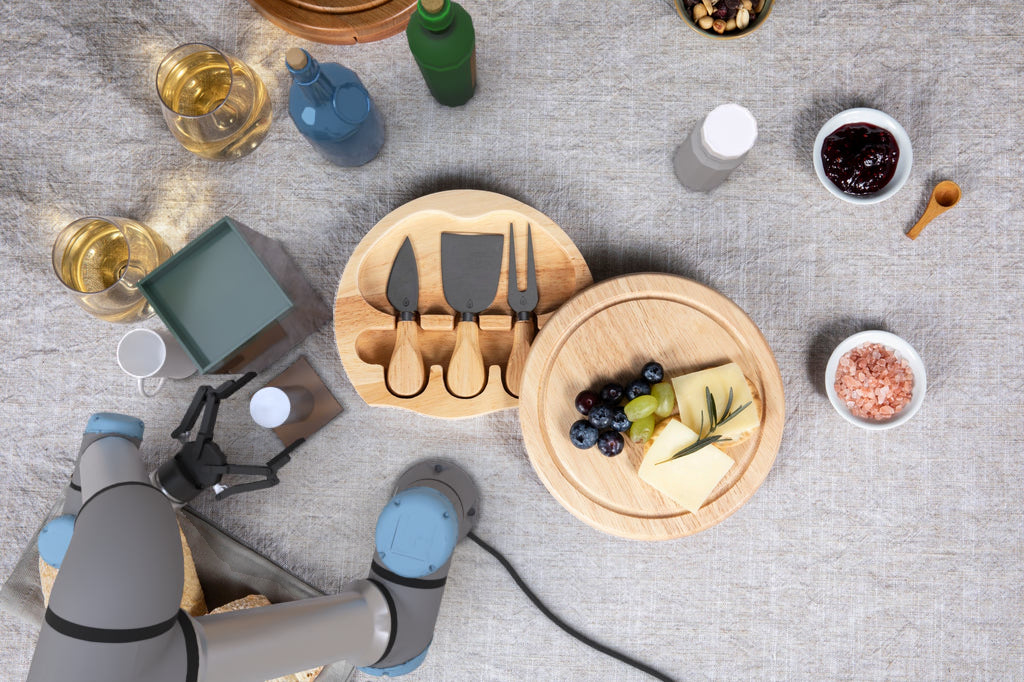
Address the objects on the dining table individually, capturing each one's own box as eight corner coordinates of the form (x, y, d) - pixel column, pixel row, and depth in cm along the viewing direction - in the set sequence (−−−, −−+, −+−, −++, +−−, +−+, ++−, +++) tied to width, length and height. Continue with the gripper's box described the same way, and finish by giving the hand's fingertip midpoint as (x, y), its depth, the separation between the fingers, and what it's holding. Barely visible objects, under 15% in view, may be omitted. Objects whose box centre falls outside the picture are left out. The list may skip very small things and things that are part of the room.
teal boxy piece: (333, 316, 119) (293, 304, 98) (257, 374, 119) (201, 374, 98) (277, 242, 120) (226, 214, 99) (202, 299, 120) (134, 284, 99)
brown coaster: (344, 410, 118) (343, 410, 118) (290, 451, 118) (289, 451, 117) (304, 356, 119) (303, 356, 118) (250, 397, 119) (249, 397, 118)
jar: (722, 196, 119) (758, 165, 101) (668, 188, 119) (694, 155, 101) (730, 143, 119) (767, 103, 101) (676, 135, 119) (703, 93, 101)
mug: (188, 402, 119) (150, 405, 107) (143, 387, 119) (101, 389, 107) (209, 339, 119) (174, 335, 107) (164, 325, 119) (124, 319, 107)
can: (321, 407, 118) (298, 411, 106) (291, 430, 118) (265, 436, 106) (299, 377, 118) (274, 378, 106) (269, 400, 118) (241, 403, 106)
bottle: (493, 75, 121) (484, -14, 93) (462, 124, 120) (444, 50, 92) (444, 45, 121) (420, -53, 93) (412, 94, 121) (379, 10, 93)
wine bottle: (306, 160, 120) (235, 91, 90) (325, 91, 121) (260, -2, 91) (379, 178, 120) (332, 113, 90) (397, 108, 121) (356, 20, 91)
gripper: (142, 422, 113) (242, 346, 113) (228, 541, 112) (329, 464, 112) (115, 425, 105) (223, 345, 106) (207, 553, 104) (315, 471, 105)
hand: (277, 406), depth 109 cm, fingers open, 13 cm apart
